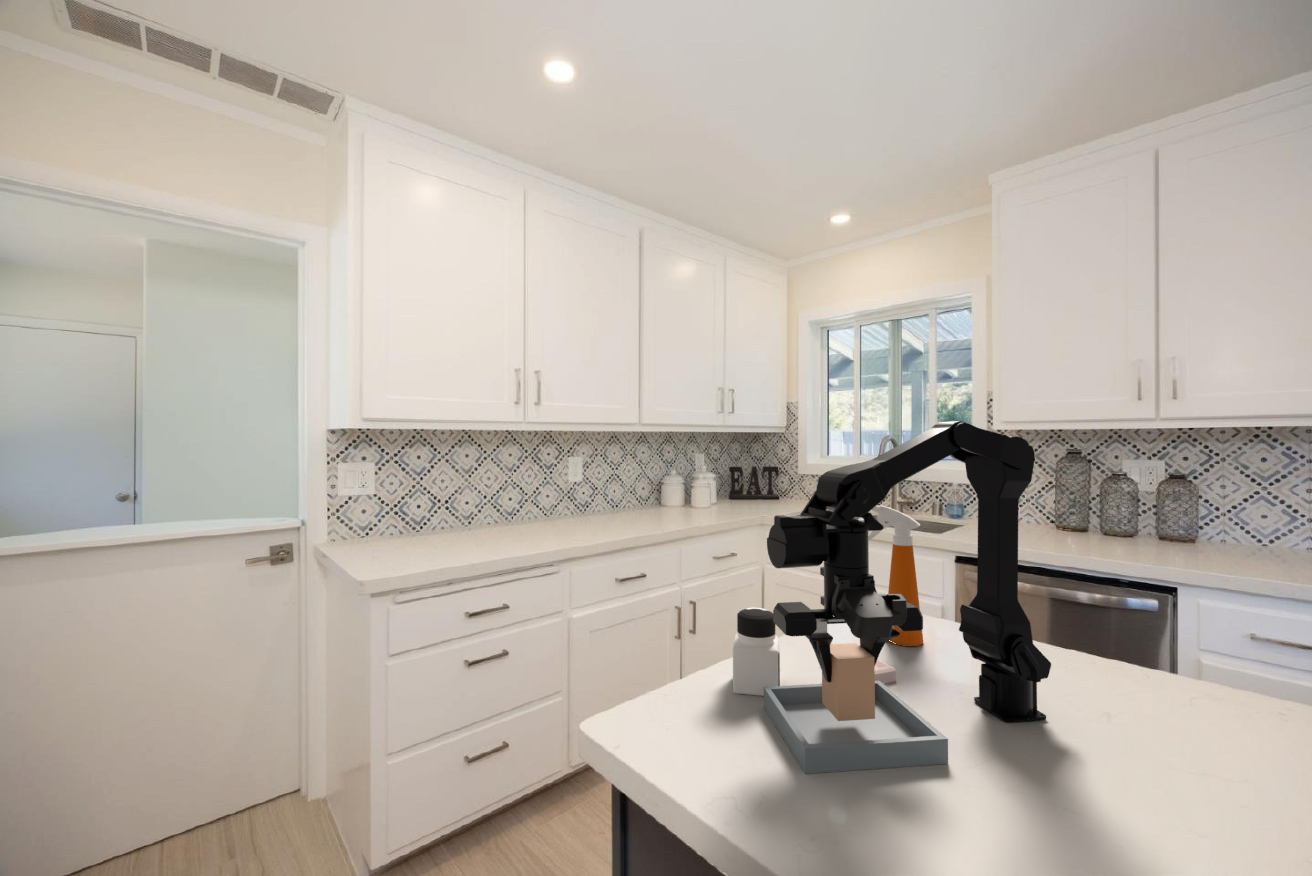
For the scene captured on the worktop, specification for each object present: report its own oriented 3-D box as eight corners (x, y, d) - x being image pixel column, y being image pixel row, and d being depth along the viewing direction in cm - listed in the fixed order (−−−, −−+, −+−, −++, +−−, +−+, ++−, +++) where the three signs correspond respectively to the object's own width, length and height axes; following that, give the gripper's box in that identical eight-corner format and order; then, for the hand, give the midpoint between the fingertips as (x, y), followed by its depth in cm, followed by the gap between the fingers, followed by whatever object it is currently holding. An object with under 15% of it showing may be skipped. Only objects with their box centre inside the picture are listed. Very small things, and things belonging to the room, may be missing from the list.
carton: (856, 700, 75) (856, 643, 75) (875, 718, 70) (874, 657, 70) (822, 702, 74) (821, 644, 74) (838, 721, 69) (837, 659, 69)
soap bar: (870, 688, 86) (870, 672, 86) (835, 665, 95) (835, 651, 95) (897, 683, 88) (897, 668, 88) (861, 661, 96) (860, 648, 96)
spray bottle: (869, 628, 112) (868, 502, 113) (926, 638, 106) (925, 505, 106) (860, 638, 107) (859, 506, 107) (920, 650, 100) (918, 509, 101)
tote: (879, 700, 81) (879, 680, 81) (948, 763, 65) (947, 738, 65) (763, 707, 79) (763, 687, 79) (805, 774, 63) (804, 748, 63)
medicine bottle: (779, 698, 82) (779, 619, 82) (732, 694, 83) (732, 616, 83) (778, 678, 89) (778, 605, 89) (735, 674, 90) (735, 603, 90)
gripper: (801, 581, 63) (802, 714, 63) (949, 576, 65) (951, 705, 65) (771, 561, 74) (772, 674, 74) (898, 557, 76) (900, 667, 76)
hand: (847, 680), depth 72 cm, fingers closed on carton, 5 cm apart
